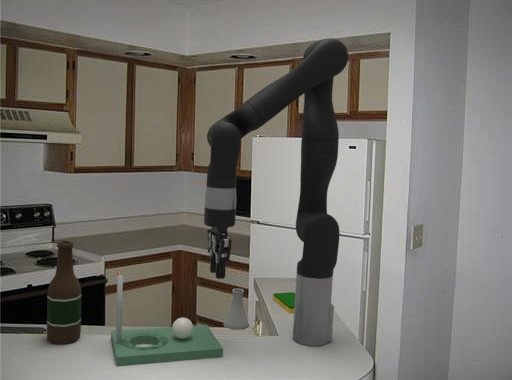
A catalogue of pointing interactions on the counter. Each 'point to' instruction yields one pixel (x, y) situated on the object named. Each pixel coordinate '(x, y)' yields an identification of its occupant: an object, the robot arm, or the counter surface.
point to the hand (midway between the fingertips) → (217, 274)
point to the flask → (236, 312)
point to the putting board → (159, 341)
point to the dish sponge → (285, 300)
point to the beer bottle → (64, 300)
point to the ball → (182, 328)
